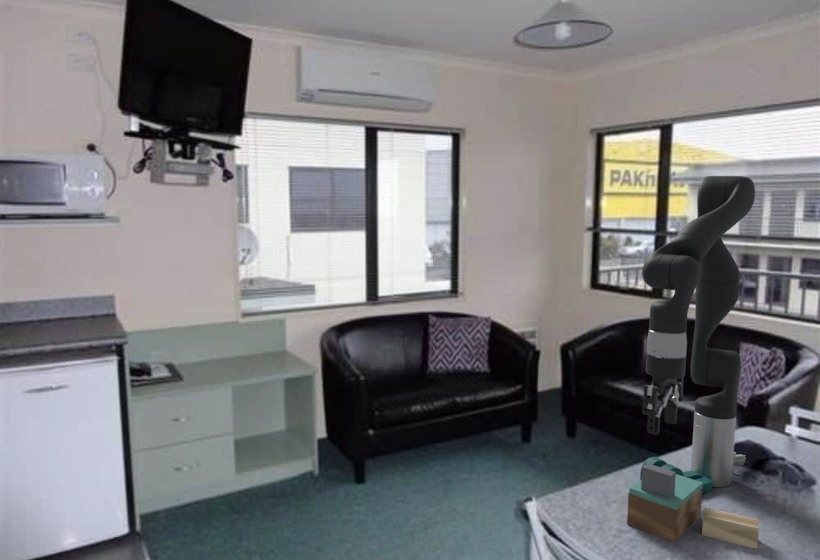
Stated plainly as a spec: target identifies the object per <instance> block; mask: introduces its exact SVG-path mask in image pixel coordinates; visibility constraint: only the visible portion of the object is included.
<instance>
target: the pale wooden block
mask: <svg viewBox="0 0 820 560" xmlns="http://www.w3.org/2000/svg"><path fill="white" fill-rule="evenodd" d="M759 524H760V522H759V519H758V518H754V517H749V516H744V515H741V514H736V513H730V512H727V511H721V510H718V509H714V508H713V509H712V508H710V507H704V509H703V516H702V527H701V530H702V531H701V536H704V537H709V538H712V539H716V540H720V541H724V542H729V543H732V544H736V545H740V546H744V547H748V548H752V549H758V543H759V529H760V527H759Z"/></svg>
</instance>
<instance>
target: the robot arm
mask: <svg viewBox="0 0 820 560" xmlns="http://www.w3.org/2000/svg"><path fill="white" fill-rule="evenodd" d="M755 198H756V188H755V183H754V182H753V180H752V179H751V178H750V177H748V176H742V175H741V176H740V175H708V176H704V177H703V178H702V180H701V181H700V183H699V186H698V189H697V198H696V199H697V200H696V201H697V202H696V203H697V205H696V206H697V209H696V210H697V211H696V213H697V214H696V215H697V217H696V218H694V219H693V220H691V221H689V222H688V223H686V224H685V225H684V226H683V227H682V228H681V230H680V231H679V232H678V233H677V234H676V236H675V237H674V238H673V240H671V241H670V242H667V243H666V244H665V245H663V246H661V247H660V248H657V250H655V251H653V252H652V253H651V254H650V255H649V256H648V257H647V258H646V260H645V262H644V263H643V266H642V272H641V274H642V275H641V276H642V280H643V281H644V283H645V284H646V285H647V286H648V287H650V288H653V289H659V290H660V289H661V290H669V291H674V292H673V293H674V294H673V296H672V297H671V298H670V299H662V300H655V301H654V302H652V303H651V305H650V308H649V319H648V320H649V321H648V323H649V325H648V335H647V339H646V355H645V373H646V374H647V375H649V376H651V378H652V382H651V384H649V385H648V384H645V385H644V387H643V396H642V406H641V407H642V408H641V409H642V410H641V413H642V415H647V424H646V425H647V426H646V433H648V434H650V435H654V436H657V435H659V434H660V424H661V413H662V411H663V409H664V422H665V423H666V424H670V425H675V424H676V423H677V418H678V416H677V414H678V408H679V406H680V403H682V402H683V400H684V399H683V398H684V377H685V375H686V364H687V362H686V361H687V350H688V349H687V346H688V340H687V327H688V313H689V309H690V305H691V301H692V299H693V295H694V293H695V308H694V309H695V310H694V311H695V313H694V315H695V316H694V317H695V319H694V320H695V321H694V330H693V331H694V332H693V339H692V340H693V342H692V349H691V357H690V359H691V360H690V378H691V380H692V382H693V383H694V384H696V385H702V386H705V387H706V386H709V387H715V388H722V389H723V390H722V391H720V392H718V393H714V394H710V395H706V396H701V397H698V398H697V399H696V400H695V403H694V414H693V432H692V444H691V445H692V446H691V463H690V471H695V472H697V473H699V474H701V475H704V476H707V477H711V478H712V488H713V487H715V488H725V487H729V486H730V485H732V478H733V475H732V468H733V454H734V452H735V450H734V449H735V439H736V420H737V408H738V407H737V406H738V391H739V383H740V379H741V372H742V371H741V369H742V359H741V355H740V354H739V352H738V351H735V350H728V349H718V348H709V347H708V346H707V345H708V342H709V340H710V337H711V336H712V334H713V332H714V331H715V330H716V328H717V327H718V326H719V325H720V323H721V322H722V321H723V320H724V319H725V318H726V316H727V315H728V314H729V313H730V312H731V311H732V309H733V308H734V307H735V306H736V305H737V303H738V300H739V296H740V295H739V293H740V279H741V277H740V276H741V273H740V269H739V265H737V262H736V261H735V259H734V257H733V256H732V254H731V253H730V251H729V250H728V248H727V246H726V245H725V243H724V241H723V238H722V236H723V235H724V234H726V233H727V232H728V231H729V230H730V229H732V228H733V227H734V226H735V225H736V224H738V223H739V222H740V221H741V220H742V219H743V218H744V217H746V216H747V215H748V214H749V213H750V211H751V210H752V207H753V205H754V203H755Z"/></svg>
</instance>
